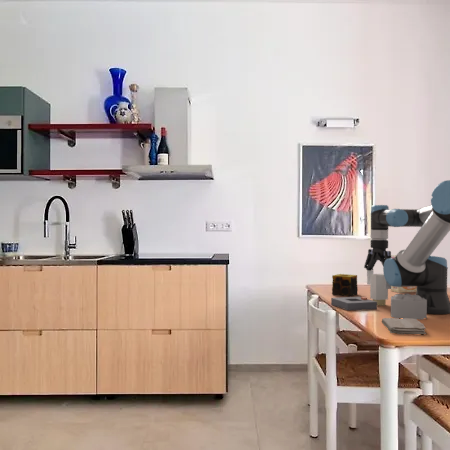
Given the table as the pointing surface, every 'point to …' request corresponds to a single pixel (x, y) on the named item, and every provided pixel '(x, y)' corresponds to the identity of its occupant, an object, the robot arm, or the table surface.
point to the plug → (378, 289)
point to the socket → (354, 303)
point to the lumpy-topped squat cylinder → (408, 306)
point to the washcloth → (404, 326)
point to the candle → (344, 285)
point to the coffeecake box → (403, 289)
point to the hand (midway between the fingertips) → (378, 286)
